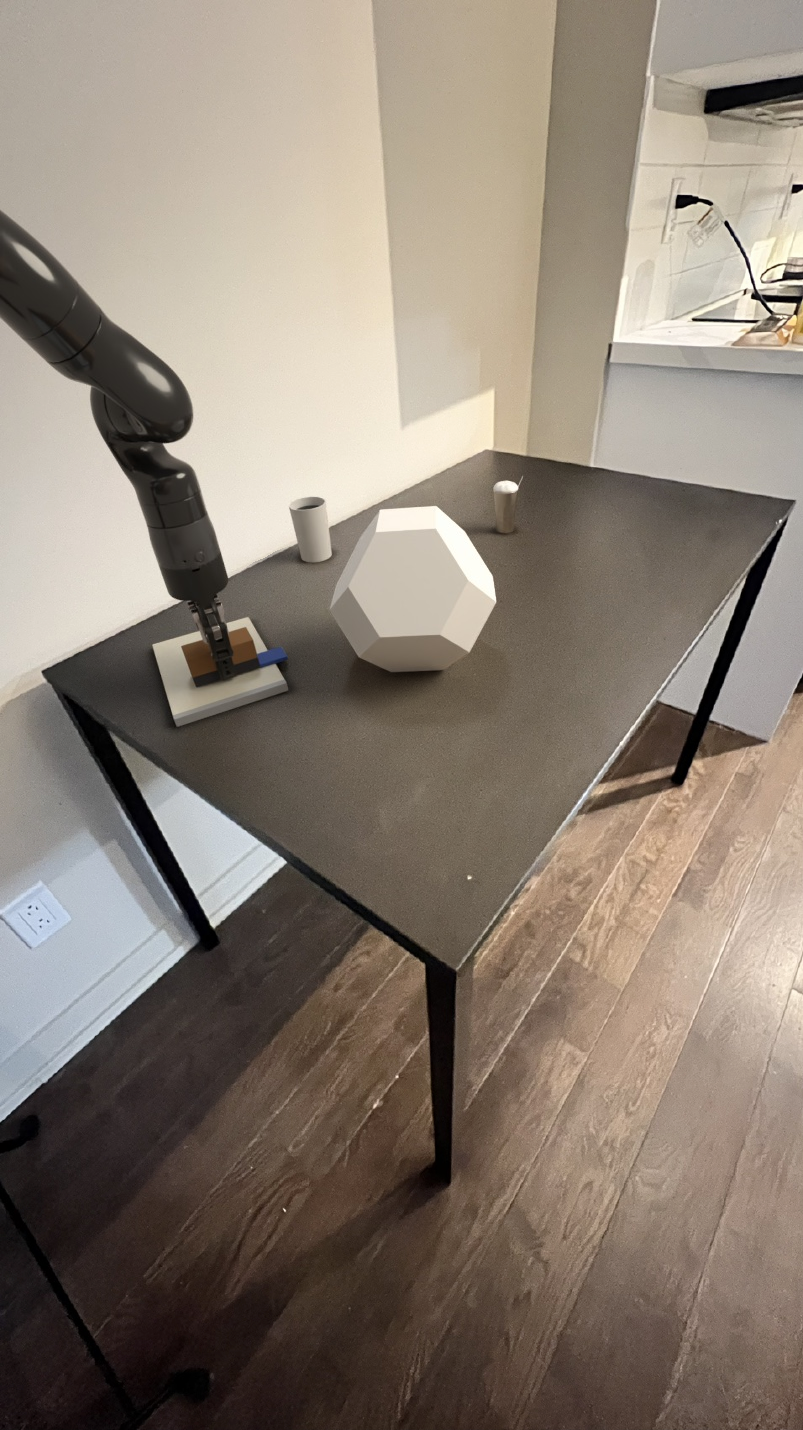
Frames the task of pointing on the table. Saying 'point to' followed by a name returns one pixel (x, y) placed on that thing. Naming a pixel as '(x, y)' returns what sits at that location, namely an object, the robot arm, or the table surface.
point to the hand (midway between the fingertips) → (224, 668)
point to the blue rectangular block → (271, 657)
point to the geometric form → (413, 591)
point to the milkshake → (505, 505)
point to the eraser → (205, 665)
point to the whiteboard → (217, 695)
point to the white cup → (311, 528)
